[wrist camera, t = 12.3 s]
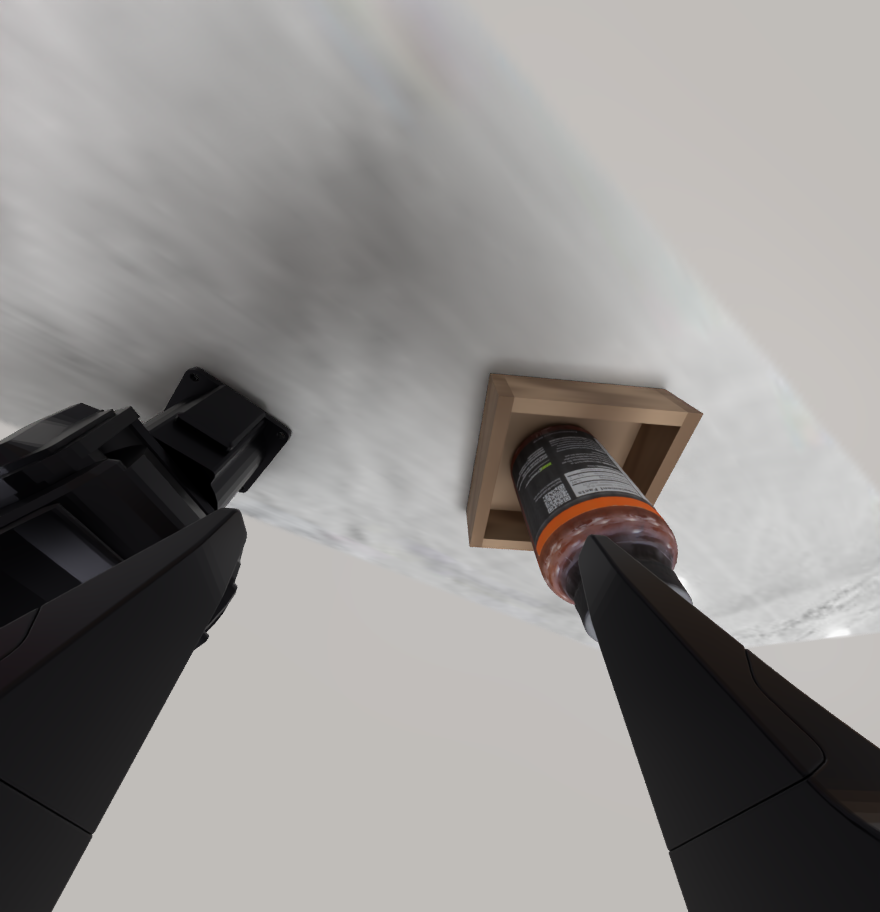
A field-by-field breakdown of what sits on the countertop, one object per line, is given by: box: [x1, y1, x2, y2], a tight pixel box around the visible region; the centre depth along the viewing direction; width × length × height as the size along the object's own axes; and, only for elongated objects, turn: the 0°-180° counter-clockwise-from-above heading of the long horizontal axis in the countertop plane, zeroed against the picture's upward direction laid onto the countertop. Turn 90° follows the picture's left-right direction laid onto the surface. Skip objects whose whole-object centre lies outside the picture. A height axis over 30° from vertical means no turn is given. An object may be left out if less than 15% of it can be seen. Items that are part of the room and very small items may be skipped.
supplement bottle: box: [511, 425, 693, 642], centre depth 18 cm, size 6×6×11 cm
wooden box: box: [466, 373, 703, 551], centre depth 21 cm, size 11×11×4 cm
